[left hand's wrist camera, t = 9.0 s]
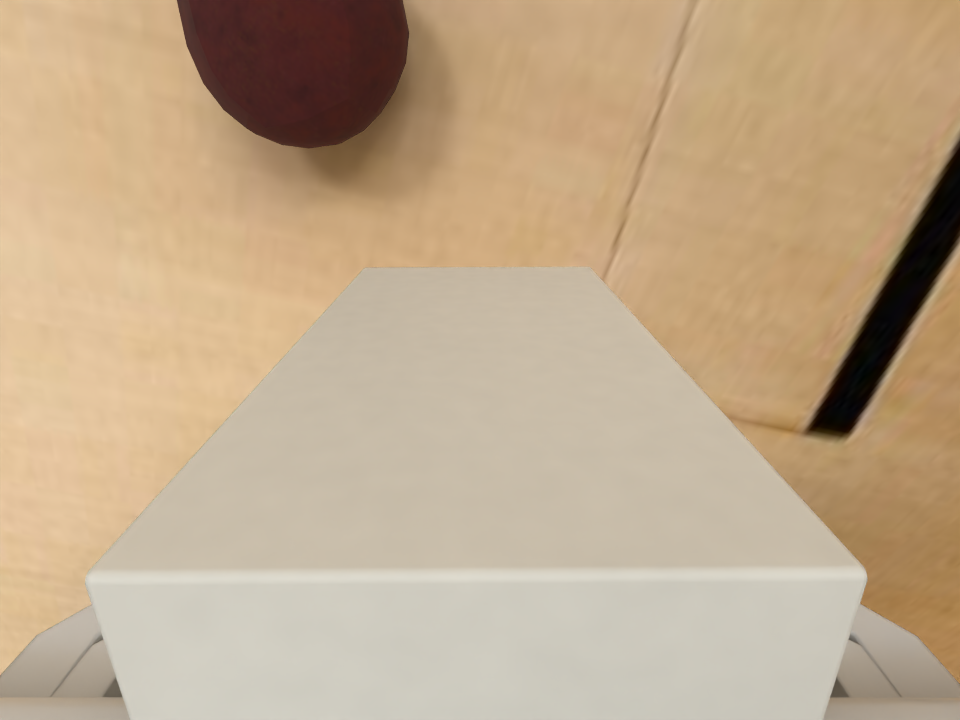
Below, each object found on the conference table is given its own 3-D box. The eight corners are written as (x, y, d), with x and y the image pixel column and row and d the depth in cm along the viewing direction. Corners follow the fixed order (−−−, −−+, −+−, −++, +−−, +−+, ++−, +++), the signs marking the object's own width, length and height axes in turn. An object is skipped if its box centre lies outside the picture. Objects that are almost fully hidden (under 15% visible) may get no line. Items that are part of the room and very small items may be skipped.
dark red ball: (279, 168, 24) (205, 176, 18) (201, -36, 22) (79, -115, 15) (440, 119, 24) (425, 109, 17) (380, -97, 21) (335, -208, 14)
